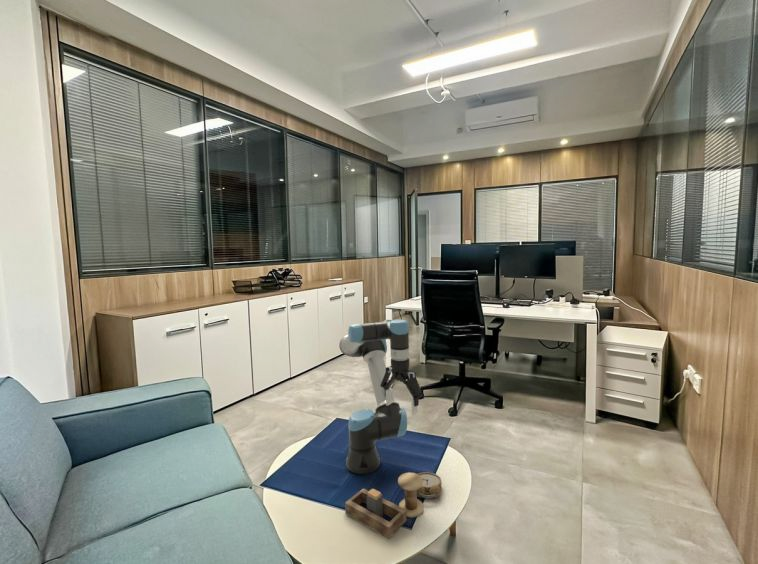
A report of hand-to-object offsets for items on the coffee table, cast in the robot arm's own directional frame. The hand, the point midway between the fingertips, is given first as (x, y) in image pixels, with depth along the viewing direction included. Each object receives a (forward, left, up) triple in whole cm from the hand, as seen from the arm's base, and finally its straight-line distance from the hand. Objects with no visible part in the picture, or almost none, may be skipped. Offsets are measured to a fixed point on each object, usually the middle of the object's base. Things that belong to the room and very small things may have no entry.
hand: (401, 408), depth 148 cm
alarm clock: (+12, -1, -31) cm, 33 cm away
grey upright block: (+4, -24, -30) cm, 39 cm away
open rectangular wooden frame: (+4, -24, -30) cm, 39 cm away
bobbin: (+12, -13, -30) cm, 35 cm away
